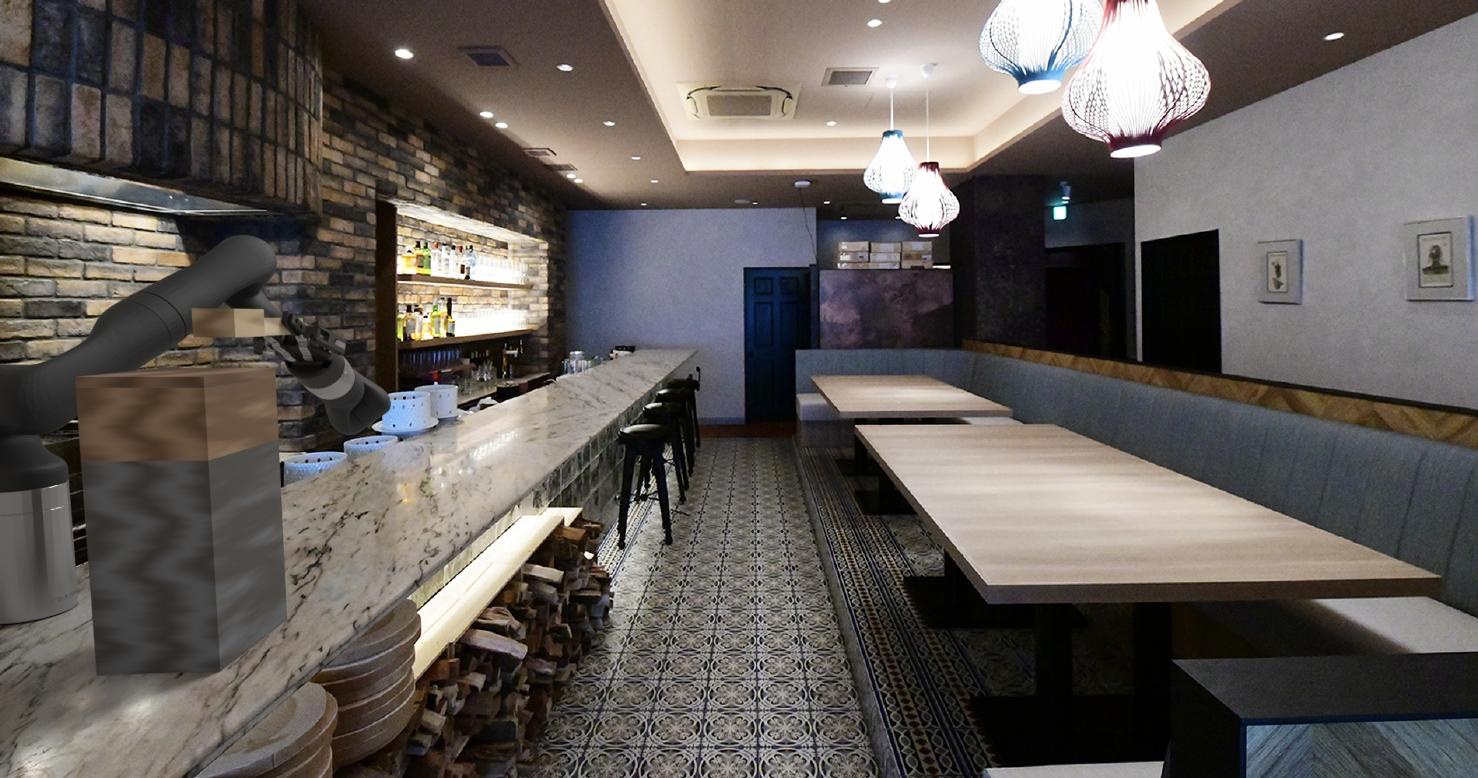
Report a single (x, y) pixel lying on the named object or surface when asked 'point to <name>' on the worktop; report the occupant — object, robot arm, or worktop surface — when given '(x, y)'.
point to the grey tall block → (181, 516)
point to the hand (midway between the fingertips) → (271, 316)
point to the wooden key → (235, 323)
